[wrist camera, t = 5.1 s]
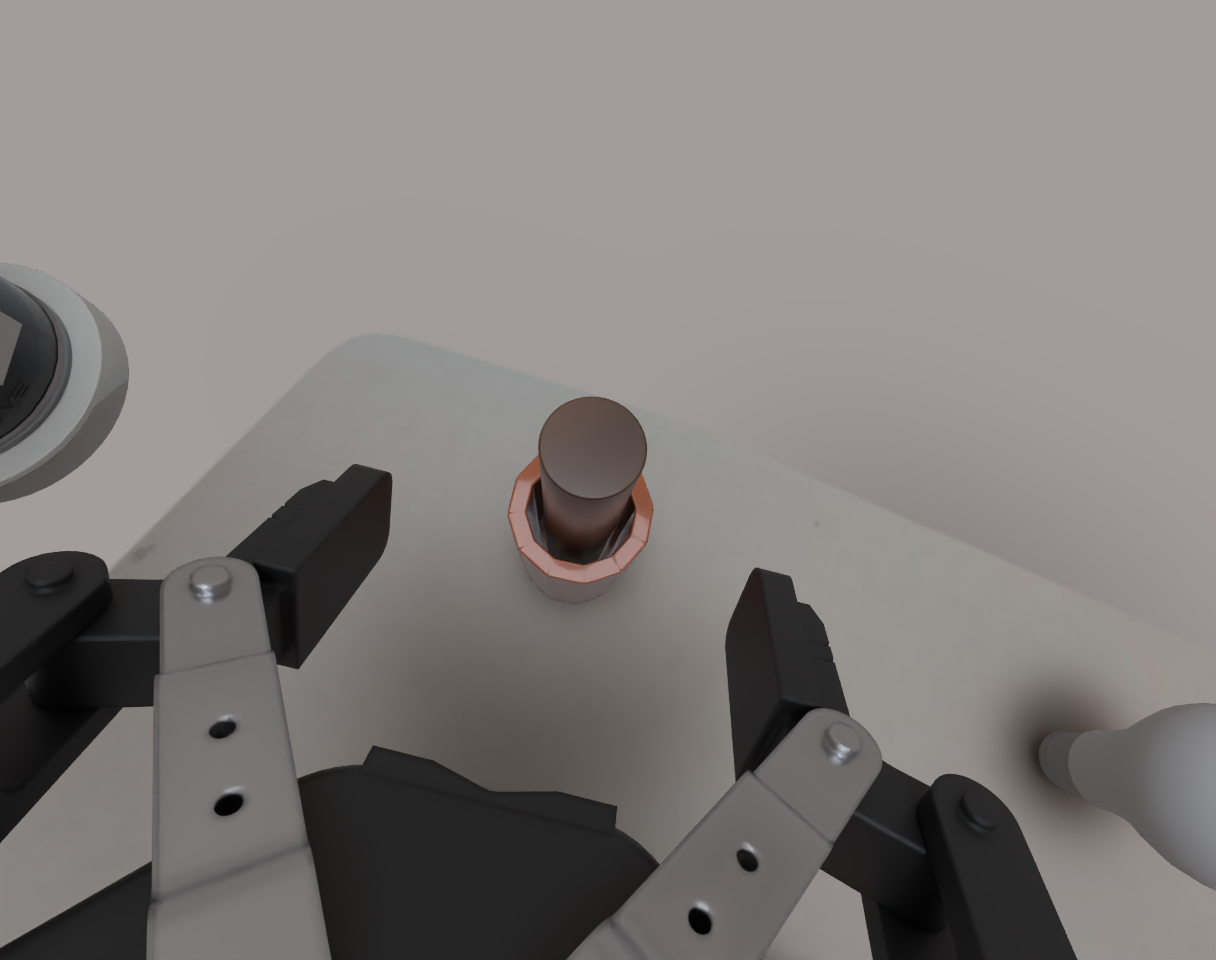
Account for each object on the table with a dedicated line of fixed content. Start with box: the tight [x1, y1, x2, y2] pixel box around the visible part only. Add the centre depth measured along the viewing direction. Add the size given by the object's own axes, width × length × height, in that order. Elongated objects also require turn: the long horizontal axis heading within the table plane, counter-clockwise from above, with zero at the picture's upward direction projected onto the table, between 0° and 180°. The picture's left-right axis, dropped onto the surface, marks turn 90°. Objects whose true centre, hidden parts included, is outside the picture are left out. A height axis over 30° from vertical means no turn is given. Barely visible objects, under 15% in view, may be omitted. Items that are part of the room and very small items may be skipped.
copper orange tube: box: [508, 455, 654, 603], centre depth 25 cm, size 5×5×10 cm
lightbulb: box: [1039, 703, 1216, 890], centre depth 24 cm, size 6×6×11 cm
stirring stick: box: [538, 397, 647, 565], centre depth 21 cm, size 2×2×16 cm
